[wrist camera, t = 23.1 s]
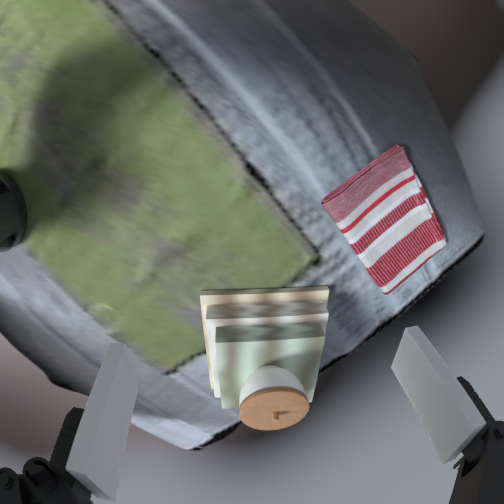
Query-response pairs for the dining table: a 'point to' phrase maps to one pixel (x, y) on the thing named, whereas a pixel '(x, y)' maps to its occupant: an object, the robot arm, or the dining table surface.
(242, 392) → the lidded jar
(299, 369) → the brick tower
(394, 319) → the dining table surface
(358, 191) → the dish towel
